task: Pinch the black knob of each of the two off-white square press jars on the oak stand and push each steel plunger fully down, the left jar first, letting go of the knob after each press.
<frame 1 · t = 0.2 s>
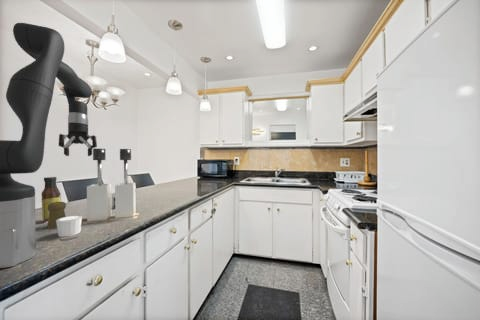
hand: (78, 155, 93), 30 cm above the countertop, tool pointing down, fingers open, 8 cm apart
sauce bottle: (52, 221, 85), on the countertop
stand: (113, 220, 85), on the countertop
plunger right: (125, 171, 86), point 22 cm above the countertop, slide at 0.0 cm
jar left: (100, 222, 83), resting on stand
plunger left: (99, 172, 83), point 22 cm above the countertop, slide at 0.0 cm
container: (123, 209, 105), on the countertop
cork: (57, 230, 74), on the countertop
jar right: (126, 219, 87), resting on stand
white ramekin: (69, 238, 67), on the countertop
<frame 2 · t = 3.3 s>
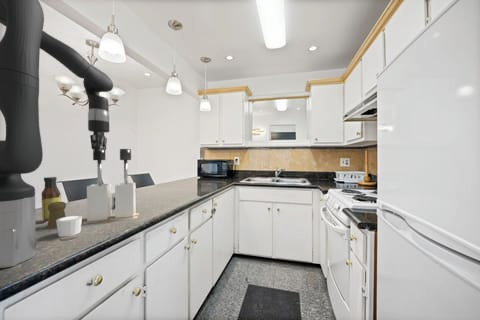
hand: (99, 159, 83), 28 cm above the countertop, tool pointing down, fingers closed on plunger left, 4 cm apart
plunger left: (99, 172, 83), point 22 cm above the countertop, slide at 0.0 cm, touching gripper
everything else where it was.
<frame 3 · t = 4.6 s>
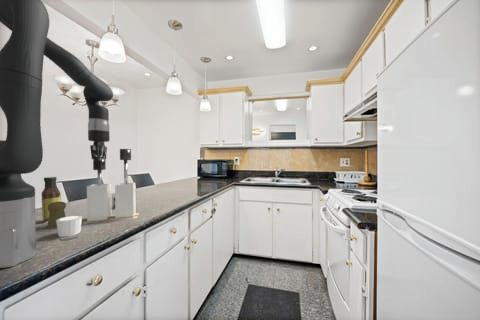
hand: (99, 169, 83), 24 cm above the countertop, tool pointing down, fingers closed on plunger left, 4 cm apart
plunger left: (99, 181, 83), point 18 cm above the countertop, slide at 4.2 cm, touching gripper
everything else where it was.
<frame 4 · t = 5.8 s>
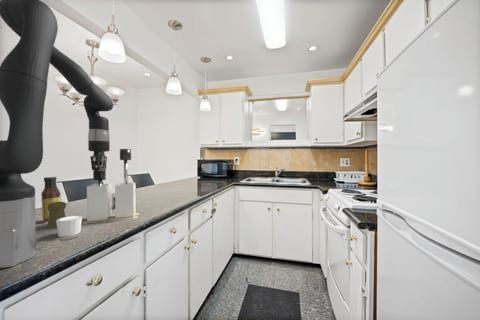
hand: (99, 179, 83), 19 cm above the countertop, tool pointing down, fingers closed on plunger left, 4 cm apart
plunger left: (99, 191, 83), point 14 cm above the countertop, slide at 8.7 cm, touching gripper
everything else where it was.
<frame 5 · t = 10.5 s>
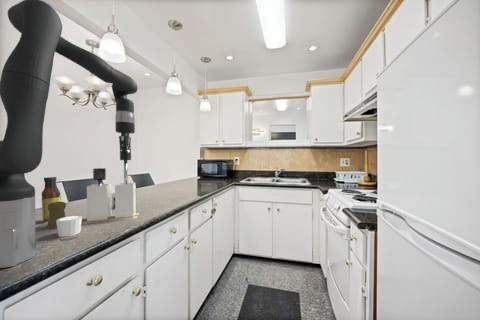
hand: (125, 159, 86), 28 cm above the countertop, tool pointing down, fingers closed on plunger right, 4 cm apart
plunger right: (125, 171, 86), point 22 cm above the countertop, slide at 0.0 cm, touching gripper
plunger left: (99, 191, 83), point 14 cm above the countertop, slide at 8.7 cm
everything else where it was.
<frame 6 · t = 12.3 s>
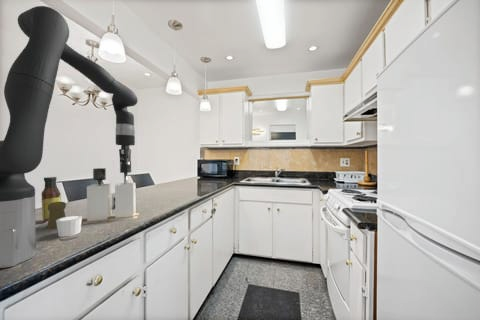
hand: (125, 171, 86), 22 cm above the countertop, tool pointing down, fingers closed on plunger right, 4 cm apart
plunger right: (125, 183, 86), point 17 cm above the countertop, slide at 5.7 cm, touching gripper
everything else where it was.
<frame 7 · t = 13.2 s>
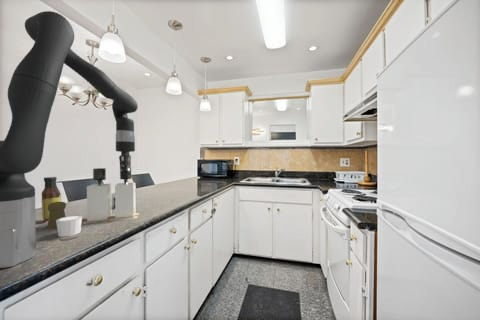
hand: (125, 178, 86), 19 cm above the countertop, tool pointing down, fingers closed on plunger right, 4 cm apart
plunger right: (125, 190, 86), point 14 cm above the countertop, slide at 8.7 cm, touching gripper
everything else where it was.
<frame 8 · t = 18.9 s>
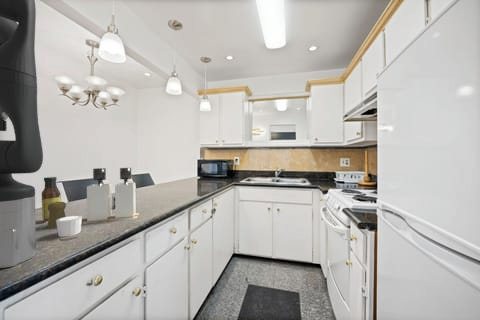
hand: (10, 132, 70), 38 cm above the countertop, tool pointing down, fingers open, 8 cm apart
plunger right: (125, 190, 86), point 14 cm above the countertop, slide at 8.7 cm
everything else where it was.
at the end: plunger left slide at 8.7 cm; plunger right slide at 8.7 cm; the gripper is holding nothing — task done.
